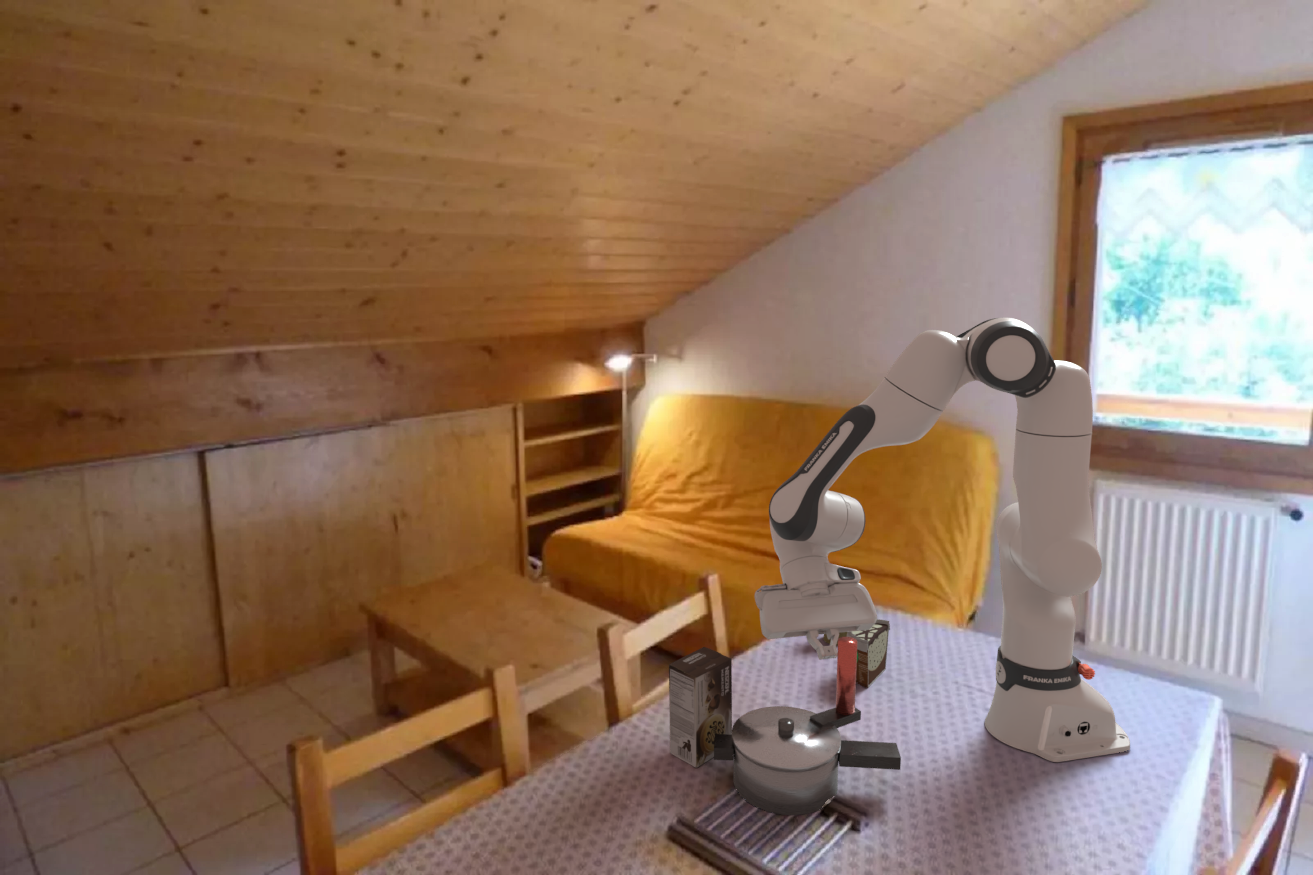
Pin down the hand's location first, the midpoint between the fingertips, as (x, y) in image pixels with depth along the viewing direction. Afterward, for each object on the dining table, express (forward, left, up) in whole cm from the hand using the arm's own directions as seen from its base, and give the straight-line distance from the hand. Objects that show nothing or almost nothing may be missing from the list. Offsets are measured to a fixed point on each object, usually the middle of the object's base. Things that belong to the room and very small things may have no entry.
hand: (828, 658), depth 138 cm
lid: (+7, +11, -7) cm, 15 cm away
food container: (-12, -22, -15) cm, 29 cm away
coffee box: (+22, +3, -15) cm, 27 cm away
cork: (-11, -38, -15) cm, 42 cm away
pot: (+6, +13, -15) cm, 20 cm away
